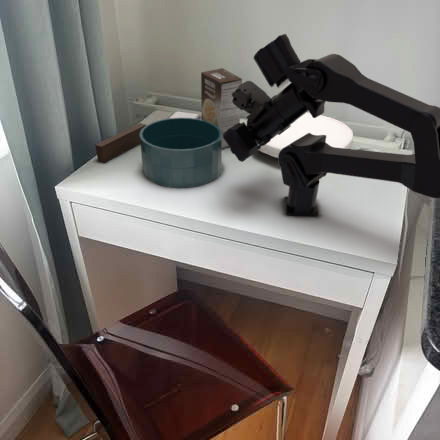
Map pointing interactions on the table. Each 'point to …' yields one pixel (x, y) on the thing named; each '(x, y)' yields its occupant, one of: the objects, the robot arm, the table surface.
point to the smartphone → (184, 115)
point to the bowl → (181, 152)
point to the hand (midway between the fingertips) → (232, 151)
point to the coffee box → (219, 99)
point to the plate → (321, 125)
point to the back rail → (119, 143)
